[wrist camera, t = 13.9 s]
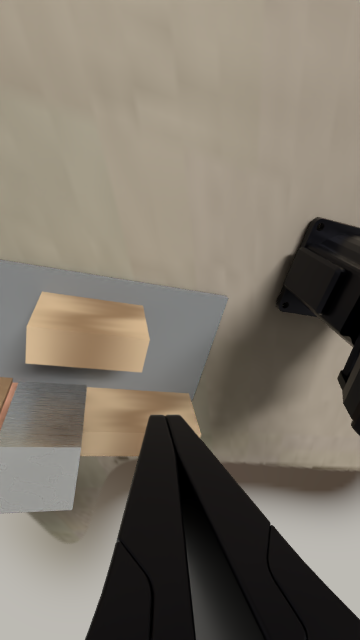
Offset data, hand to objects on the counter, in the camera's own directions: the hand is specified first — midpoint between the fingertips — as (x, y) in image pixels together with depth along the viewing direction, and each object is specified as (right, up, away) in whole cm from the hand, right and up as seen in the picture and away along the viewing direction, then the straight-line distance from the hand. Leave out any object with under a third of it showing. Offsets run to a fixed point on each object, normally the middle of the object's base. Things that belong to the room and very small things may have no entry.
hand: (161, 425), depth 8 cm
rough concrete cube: (-8, -3, +12) cm, 15 cm away
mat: (-4, 0, +13) cm, 14 cm away
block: (-5, 0, +13) cm, 14 cm away
